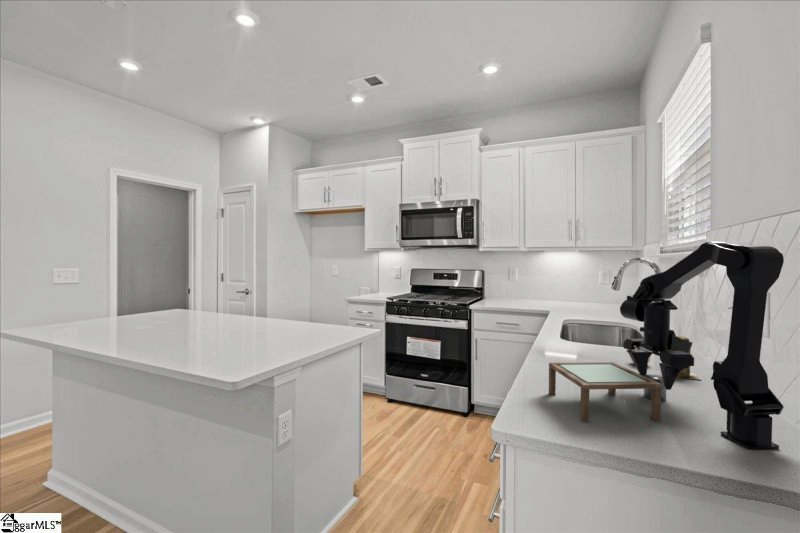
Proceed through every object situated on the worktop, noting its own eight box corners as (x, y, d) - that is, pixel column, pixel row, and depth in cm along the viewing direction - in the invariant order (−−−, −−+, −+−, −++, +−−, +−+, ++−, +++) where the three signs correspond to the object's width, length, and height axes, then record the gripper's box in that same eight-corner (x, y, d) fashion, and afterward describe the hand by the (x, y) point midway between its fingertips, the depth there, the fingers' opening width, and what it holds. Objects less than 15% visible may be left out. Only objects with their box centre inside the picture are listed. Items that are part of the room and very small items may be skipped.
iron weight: (670, 401, 99) (671, 380, 98) (652, 401, 98) (652, 380, 98) (657, 394, 104) (657, 374, 103) (639, 394, 103) (639, 374, 103)
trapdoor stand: (660, 421, 87) (661, 384, 86) (583, 422, 86) (583, 385, 86) (612, 392, 105) (613, 362, 104) (548, 393, 104) (549, 362, 104)
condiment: (662, 370, 125) (663, 334, 125) (694, 374, 122) (695, 336, 121) (668, 377, 118) (669, 339, 118) (701, 381, 115) (702, 341, 115)
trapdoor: (646, 385, 88) (646, 381, 88) (587, 386, 88) (587, 382, 88) (610, 367, 102) (610, 364, 102) (559, 368, 102) (559, 364, 102)
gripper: (716, 331, 91) (715, 396, 92) (660, 319, 110) (659, 372, 110) (672, 332, 91) (670, 396, 91) (622, 319, 110) (621, 372, 110)
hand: (655, 383), depth 101 cm, fingers open, 9 cm apart
